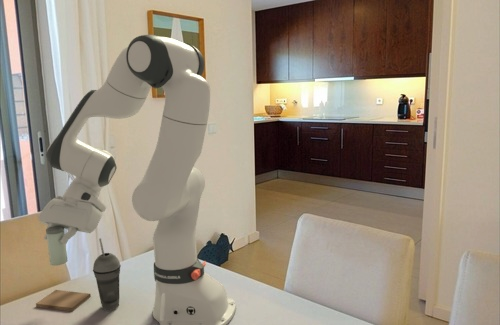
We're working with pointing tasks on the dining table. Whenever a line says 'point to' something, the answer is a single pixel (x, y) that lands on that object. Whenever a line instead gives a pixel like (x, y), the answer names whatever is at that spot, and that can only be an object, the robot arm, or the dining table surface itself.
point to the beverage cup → (107, 279)
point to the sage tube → (56, 245)
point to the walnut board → (63, 300)
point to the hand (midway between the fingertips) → (54, 241)
